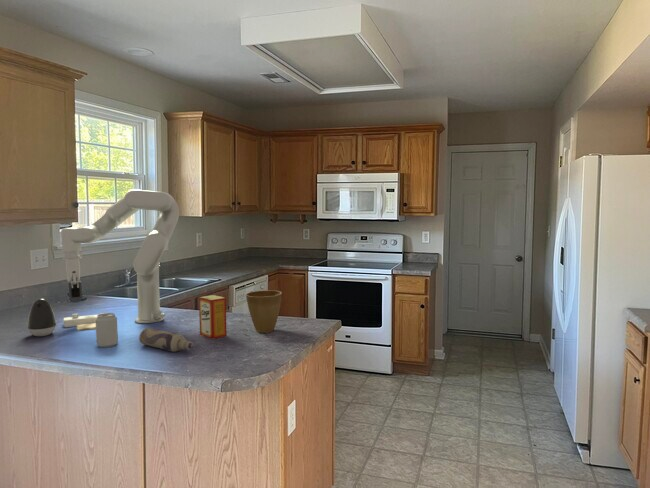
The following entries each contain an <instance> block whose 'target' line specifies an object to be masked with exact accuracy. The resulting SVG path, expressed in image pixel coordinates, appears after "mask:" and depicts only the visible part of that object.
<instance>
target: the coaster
mask: <svg viewBox="0 0 650 488" xmlns="http://www.w3.org/2000/svg"><path fill="white" fill-rule="evenodd" d="M89 330H96V323H92V324H83V325H77V326H76V331H78V332H81V331H89Z"/></svg>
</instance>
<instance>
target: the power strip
mask: <svg viewBox="0 0 650 488" xmlns="http://www.w3.org/2000/svg"><path fill="white" fill-rule="evenodd" d="M103 313H104V312H101V313H99V314H103ZM99 314H90V315H80V316H79V313H72V314H71V317H70V316H68V317H63V328H69V327H77V325H83V324H92V323H96V318H97V317H98V316H97V315H99Z"/></svg>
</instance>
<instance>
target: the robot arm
mask: <svg viewBox="0 0 650 488" xmlns="http://www.w3.org/2000/svg"><path fill="white" fill-rule="evenodd" d="M140 210H145V211H157V212H159V215H158V217H157V219H156V221H155V223H154V226H153V228H152V230H151V232H150V233H148V234H147V235H146V236H145V238H144V240H143V242H142V244H141V246H140V248H139V250H138V252H137V254H136V255H135V256H136V257H135V258H134V261H133V263H132V265H133V270H134V271H135V272H136V288H137V289H136V292H137V314H138V316H137V317H136V318H134V322H135V323H138V324H152V323H159V322H162V321H163V320H164V319H165V317H166V313H162V310H161V305H160V304H161V301H160V260H161V257H162V256H163V253H164V252H165V250H166V249H167V247H168V244H169V242H170V239H171V236H172V235H173V233H174V230H175V228H176V226H177V223H178V220H179V218H180V208H179V204H178V203H177V201H176V200H175V198H174V197H173V196H172V195H171V194H170V193H167V192H164V191H157V190H156V191H154V190H142V189H135V188H134V189H130V190H128V191H127V192H126V193H125V194H124V196H122V197H121V198H120V199H119V200H118V201H116V202H115V203H114V204H112V205H110V206H109V207H108V208H107V209H106V212H105V213H104V214H103V215H102V216H101V217H100V218H98V219H97V220H96V221H94V222H93V223H92V224H90V225H88V226H83V227H64V228H62V229H61V230H60V235H61V236H60V238H61V247H62V248H61V249H62V260H63V261H64V260H65V266H66V267H65V268H66V269H65V270H66V278H67V279H66V280H67V282H68V283H69V282H71V284H72V288H71V291H72V297H80V289H79V285H78V281H81V280H80V279H81V263H80V259H83V252H82V251H83V250H82V249H83V248H82V244H92V243H96V242H98V241H99V240H102V239H103V237H105V236H106V235H108V234H109V233H110V232H112V231H113V230H114V229H115V228H117V227H118V226H120V225H121V224H122V223H123V222H125V221H126V220H128V218H130V217H132V216H133V215H134V214H136V213H137V212H138V211H140Z"/></svg>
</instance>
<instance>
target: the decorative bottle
mask: <svg viewBox="0 0 650 488" xmlns="http://www.w3.org/2000/svg"><path fill="white" fill-rule="evenodd" d="M138 340H139V343H140V344H141V345H144V346H148V347H154V348H157V349H162V350H164V351H166V352H170V353H171V352H172V353H175V352H176V353H177V352H180V351H183V350H194V349H195V348H196V345H195V343H193V342H192V341H188V340H187V339H185V337H184V336H183V335H182V334H179V333H174V332H171V331H165V330H160V329H155V328H152V327H147V328H144V329H142V330H141V332H140V333H139V338H138Z"/></svg>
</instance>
